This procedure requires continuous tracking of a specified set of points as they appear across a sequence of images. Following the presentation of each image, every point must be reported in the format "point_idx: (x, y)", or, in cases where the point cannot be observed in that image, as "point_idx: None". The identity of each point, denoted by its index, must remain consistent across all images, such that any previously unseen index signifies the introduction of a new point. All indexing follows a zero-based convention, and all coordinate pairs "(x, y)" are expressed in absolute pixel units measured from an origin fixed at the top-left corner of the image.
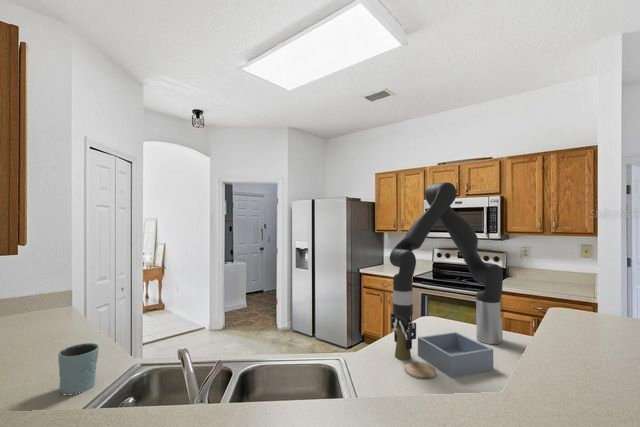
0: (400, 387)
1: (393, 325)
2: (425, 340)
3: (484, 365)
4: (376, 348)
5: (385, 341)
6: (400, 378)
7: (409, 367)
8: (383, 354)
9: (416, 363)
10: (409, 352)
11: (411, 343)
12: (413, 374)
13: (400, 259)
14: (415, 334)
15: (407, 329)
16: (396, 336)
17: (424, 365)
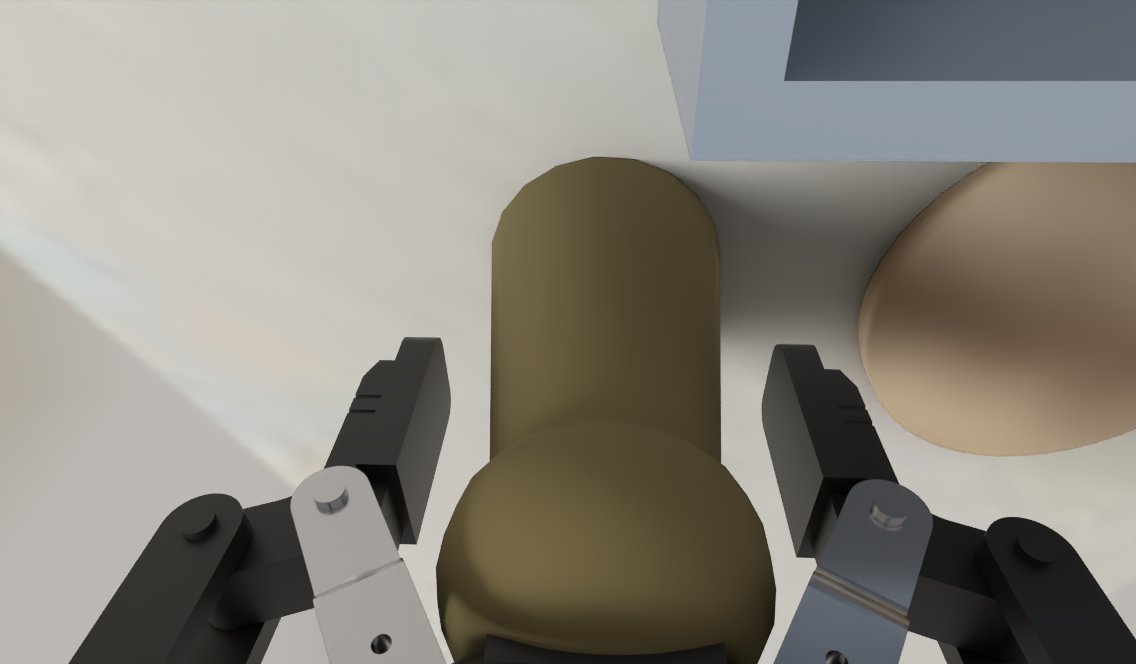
0: (1097, 568)
1: (219, 618)
2: (1013, 108)
3: None
4: (290, 410)
5: (20, 209)
6: (997, 512)
7: (958, 406)
8: (471, 418)
9: (942, 285)
10: (710, 270)
11: (876, 445)
12: (1087, 438)
13: None
14: (1123, 647)
15: (724, 636)
16: (430, 465)
17: (1066, 227)
